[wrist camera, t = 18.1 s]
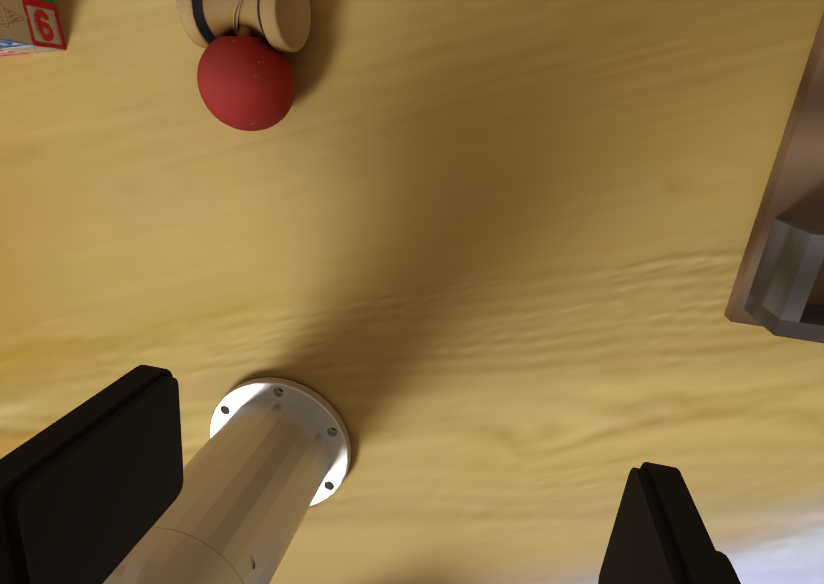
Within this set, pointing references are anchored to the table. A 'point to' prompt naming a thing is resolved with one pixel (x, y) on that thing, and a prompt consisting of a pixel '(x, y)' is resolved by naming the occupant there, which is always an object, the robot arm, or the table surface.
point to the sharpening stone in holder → (790, 225)
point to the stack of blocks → (29, 27)
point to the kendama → (246, 56)
